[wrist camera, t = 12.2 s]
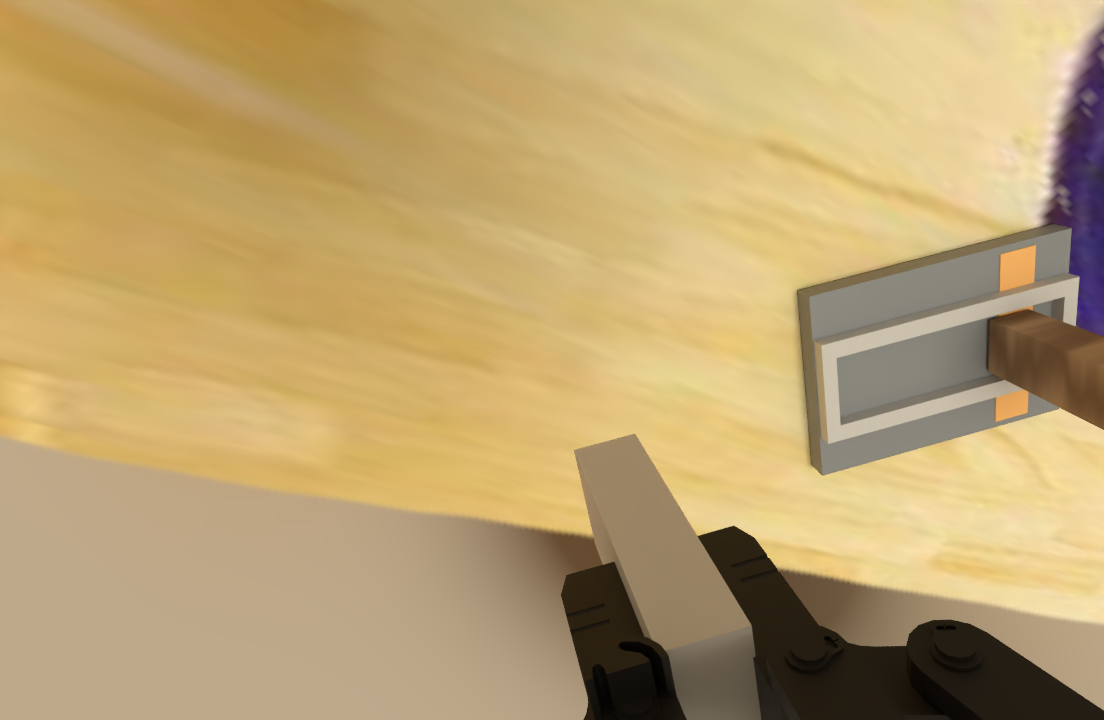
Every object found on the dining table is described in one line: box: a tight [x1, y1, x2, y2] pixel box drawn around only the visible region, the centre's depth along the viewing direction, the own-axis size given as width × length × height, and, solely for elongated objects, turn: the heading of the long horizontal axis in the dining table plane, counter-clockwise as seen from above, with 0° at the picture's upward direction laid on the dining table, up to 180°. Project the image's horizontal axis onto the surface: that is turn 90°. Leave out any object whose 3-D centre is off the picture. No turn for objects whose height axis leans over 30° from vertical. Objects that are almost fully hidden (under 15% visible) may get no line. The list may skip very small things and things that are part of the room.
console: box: [797, 224, 1079, 476], centre depth 51 cm, size 14×19×3 cm
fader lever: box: [988, 309, 1104, 430], centre depth 44 cm, size 5×4×15 cm
